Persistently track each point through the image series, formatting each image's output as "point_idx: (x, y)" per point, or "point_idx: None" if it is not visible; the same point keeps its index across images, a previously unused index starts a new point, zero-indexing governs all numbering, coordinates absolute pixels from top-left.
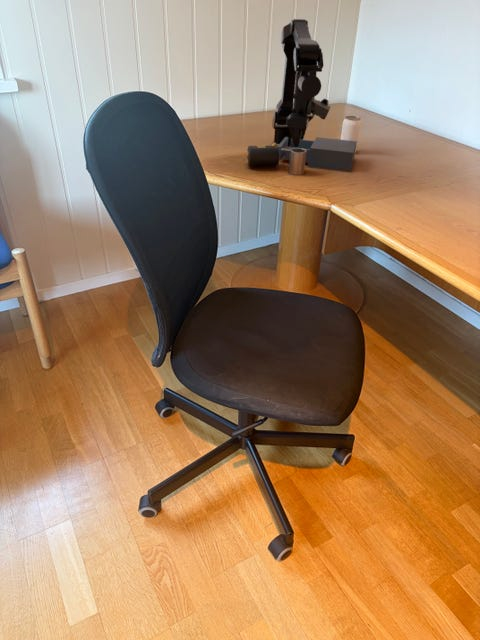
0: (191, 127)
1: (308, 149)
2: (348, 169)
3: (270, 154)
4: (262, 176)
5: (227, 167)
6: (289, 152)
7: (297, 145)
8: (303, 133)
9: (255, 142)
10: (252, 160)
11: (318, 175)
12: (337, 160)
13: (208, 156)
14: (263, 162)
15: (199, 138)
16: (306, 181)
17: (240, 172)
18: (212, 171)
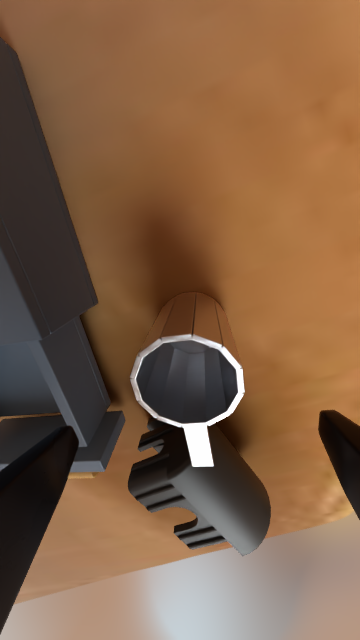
0: (29, 598)
1: (35, 346)
2: (11, 60)
3: (224, 469)
4: (294, 413)
5: None
6: (90, 410)
7: (352, 426)
8: (32, 476)
9: None
10: (264, 491)
11: (178, 219)
12: (6, 133)
13: (188, 549)
14: (238, 454)
15: (80, 580)
16: (290, 244)
17: (281, 472)
18: (303, 523)
